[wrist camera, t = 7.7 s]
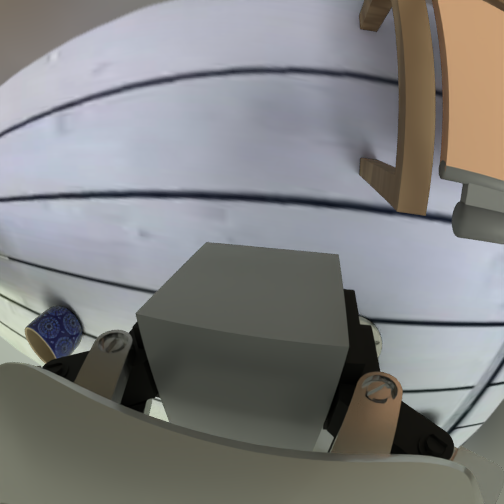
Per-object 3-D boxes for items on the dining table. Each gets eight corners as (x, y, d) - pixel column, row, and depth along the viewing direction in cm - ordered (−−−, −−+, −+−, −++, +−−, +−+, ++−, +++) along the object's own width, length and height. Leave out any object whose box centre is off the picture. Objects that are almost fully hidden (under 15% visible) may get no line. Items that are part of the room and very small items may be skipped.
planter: (50, 293, 51) (18, 319, 41) (81, 308, 50) (48, 339, 40) (61, 330, 56) (34, 356, 46) (92, 345, 54) (65, 376, 44)
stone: (338, 254, 10) (349, 346, 5) (320, 356, 12) (312, 452, 7) (206, 242, 11) (135, 313, 6) (213, 341, 13) (170, 423, 8)
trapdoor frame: (497, 57, 18) (571, 39, 3) (494, 199, 26) (571, 245, 11) (359, 15, 22) (384, -58, 7) (359, 174, 30) (397, 211, 15)
